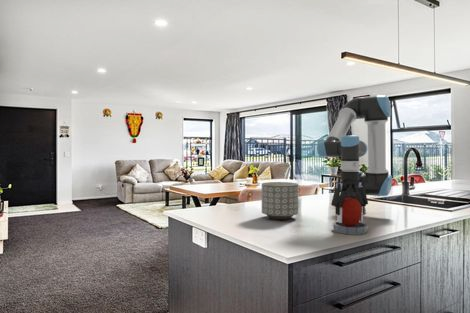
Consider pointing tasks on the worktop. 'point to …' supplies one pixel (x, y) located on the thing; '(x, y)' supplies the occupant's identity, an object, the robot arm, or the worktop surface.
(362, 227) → the grey shallow round dish
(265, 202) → the planter
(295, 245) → the worktop surface
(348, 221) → the apple
